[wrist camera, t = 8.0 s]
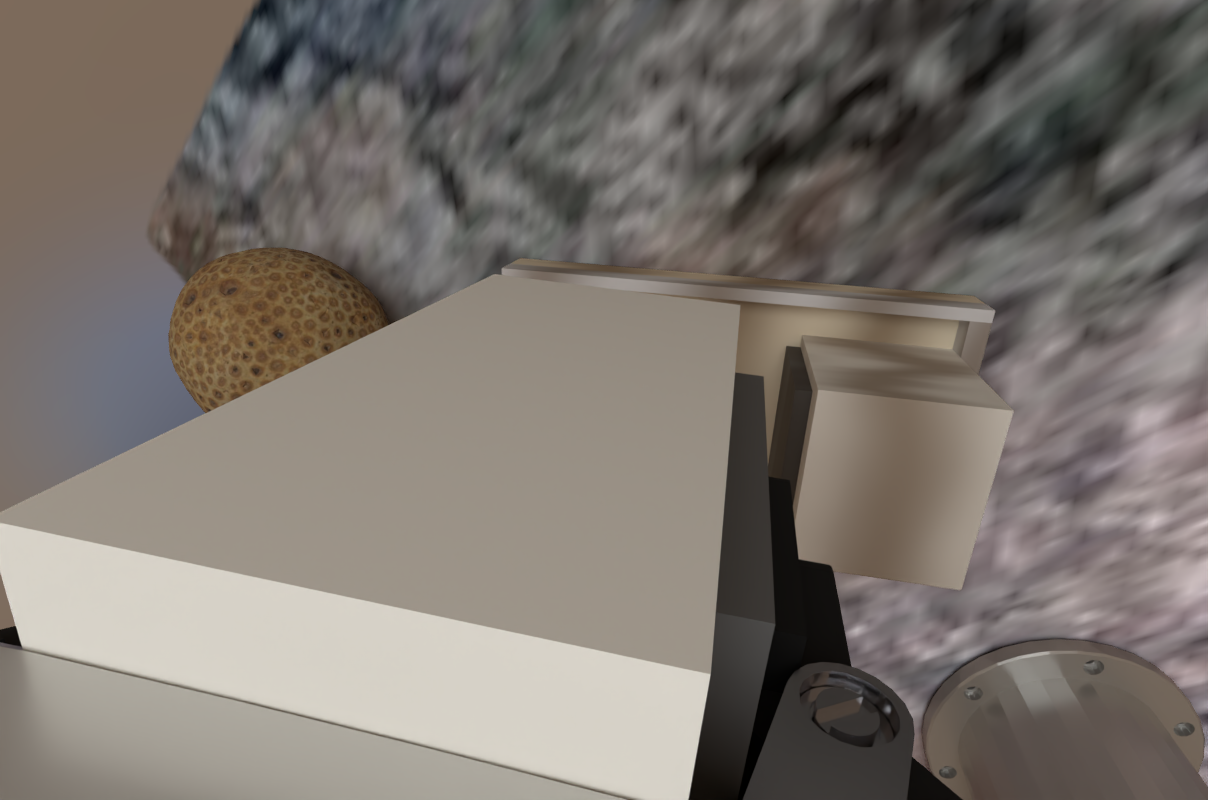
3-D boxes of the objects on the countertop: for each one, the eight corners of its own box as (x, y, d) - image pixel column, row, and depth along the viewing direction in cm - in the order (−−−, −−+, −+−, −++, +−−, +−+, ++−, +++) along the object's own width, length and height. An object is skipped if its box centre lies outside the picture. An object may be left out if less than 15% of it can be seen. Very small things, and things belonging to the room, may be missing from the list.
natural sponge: (472, 325, 34) (371, 395, 24) (375, 435, 37) (255, 532, 28) (333, 193, 33) (172, 214, 23) (246, 319, 36) (77, 380, 27)
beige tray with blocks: (973, 295, 29) (1059, 354, 21) (917, 519, 33) (971, 638, 25) (520, 258, 32) (448, 296, 24) (520, 466, 36) (458, 556, 28)
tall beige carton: (769, 309, 12) (809, 697, 3) (709, 653, 14) (650, 1334, 6) (494, 274, 12) (-14, 519, 4) (486, 607, 15) (167, 1154, 7)
